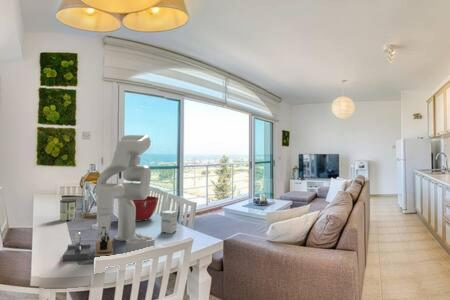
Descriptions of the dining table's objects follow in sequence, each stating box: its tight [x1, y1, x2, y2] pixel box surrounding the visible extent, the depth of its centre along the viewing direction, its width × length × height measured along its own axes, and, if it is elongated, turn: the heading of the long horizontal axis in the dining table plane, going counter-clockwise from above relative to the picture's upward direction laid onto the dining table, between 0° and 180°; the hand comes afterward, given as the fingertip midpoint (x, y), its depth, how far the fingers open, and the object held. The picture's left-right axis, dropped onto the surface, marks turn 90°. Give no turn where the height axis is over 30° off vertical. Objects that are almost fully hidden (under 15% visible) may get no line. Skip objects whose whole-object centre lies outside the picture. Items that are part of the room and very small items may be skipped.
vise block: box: [62, 232, 92, 263], centre depth 139 cm, size 12×10×11 cm
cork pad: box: [93, 248, 114, 258], centre depth 144 cm, size 8×8×1 cm
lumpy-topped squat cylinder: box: [125, 233, 155, 254], centre depth 144 cm, size 10×13×9 cm
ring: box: [95, 237, 114, 252], centre depth 144 cm, size 7×7×5 cm
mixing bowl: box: [132, 195, 159, 221], centre depth 217 cm, size 28×28×15 cm
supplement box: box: [160, 209, 178, 234], centre depth 185 cm, size 7×7×13 cm
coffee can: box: [59, 198, 77, 222], centre depth 213 cm, size 10×10×14 cm
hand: (104, 246), depth 144 cm, fingers closed on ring, 7 cm apart
